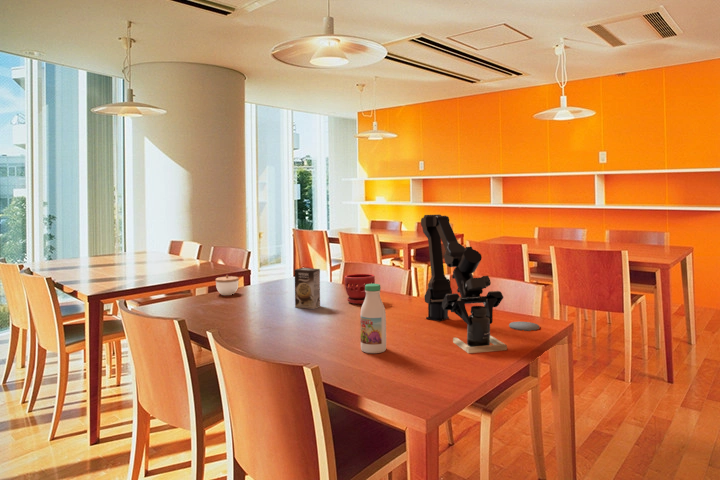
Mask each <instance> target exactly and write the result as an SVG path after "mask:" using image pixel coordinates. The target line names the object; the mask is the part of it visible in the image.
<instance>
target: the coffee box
mask: <svg viewBox="0 0 720 480" xmlns="http://www.w3.org/2000/svg"><path fill="white" fill-rule="evenodd" d="M294 305H295V306H294V307H295V308H300V309H308V310H309V309H310V310H311V309H312V310H314V309H316V308H318V307H321V269H320V268H310V267H309V268H307V267H300V268H296V269H294Z"/></svg>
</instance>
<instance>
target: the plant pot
mask: <svg viewBox="0 0 720 480" xmlns="http://www.w3.org/2000/svg"><path fill="white" fill-rule="evenodd" d="M375 280H376V279H375V275H374V274H370V273H354V274H347V275H345V276H344V287H345V288H344V289H345V292H346V294H347V296H348V297H347V299H346V300H347V302H348V303H350V304H353V305H354V304H355V305H363V303H364V300H365V297H366V292H365V285H366V284H376V281H375Z"/></svg>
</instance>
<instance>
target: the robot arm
mask: <svg viewBox="0 0 720 480" xmlns="http://www.w3.org/2000/svg"><path fill="white" fill-rule="evenodd" d="M420 219H421V220H420V225H421V226H420V227H421V228H422V232H423V234H424V235H425V237H426V238H427V243H428V251H429V252H428V254H429V262H430V265H429V266H430V275H431V277H430V279H429V281H428V284H427V289H426V292H425V294H424V302H425V303H426V304H427V305H428V307H427V309H428V310H427V313H428V316H426V317H425V319H427V320H431V321H437V322H442V321H445V320H448V319H449V318H450V316H449V311H450V312H451V313H454V314H455V315H457V316H458V317H459V318H460V319H461V320H462V321H463V322H464V323H465V324H466V325H467V324H468V325H469V326H470V325H471V322H470V318H469V316H470V315H469V314H468V310H467V308H466V304H467V305H470V304H483V306H484V307H487V314H486V315H487V316H488V317H489V318H490V325H492V323H494V322H493V318H494V317H493V313H494V312H493V311H494V308H497V307H498V306H499V305H500V304H501V302H502V301H503V299H504V295H503V293H502V291H500V290H494V291H493V290H492V291H491V290H489V291H488V293H487V294H486V295H484V296H482V294H483V292H484V291H483V289H484V290H485V289H486V288H488V287H489V286H491V279H490V277H489V275H482V276H481V277H474V275H473V273H475V272H476V270H477V268H478V267H479V265H480V263H481V262H482V258H483V257H482V254H481V253H480V252H479V251H478V250H476V249H474V248H473V247H472V246H466V247H465V246H464V245H462V244H461V243H459V241H458V239H457V236H456V234H455V232H454V230H453V228H452V226H451V223H450V218H449V216H448V215H441V214H424V216H423V217H421V218H420ZM442 245H443V247H444V250H445V253H444V255H443V248H442ZM443 257H444V259H443ZM444 263H445V265H446V266H447V267H448V268H454V269H453V271H452V276H451V278H452V279H453V280H454V279H455V282H456V285H457V289H456V291H457V293H456V292H455V293H453V290H452V286H451V281H450V279H449V278H447V277H446V275H445V269H444V267H445V266H444ZM458 293H459V294H460V295H459V294H458Z"/></svg>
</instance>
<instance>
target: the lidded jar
mask: <svg viewBox="0 0 720 480" xmlns="http://www.w3.org/2000/svg"><path fill="white" fill-rule="evenodd" d="M239 280H240V279H239V277H238V276H232V275H231V276H229V274H226V275H225V276H220V277H219V276H218V277H217V278H215V287H216V290H217V292H218V293H219V294H220V295H221V296H232V294H233V295H235V293H236V292H237V290H238V288H239Z"/></svg>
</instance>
